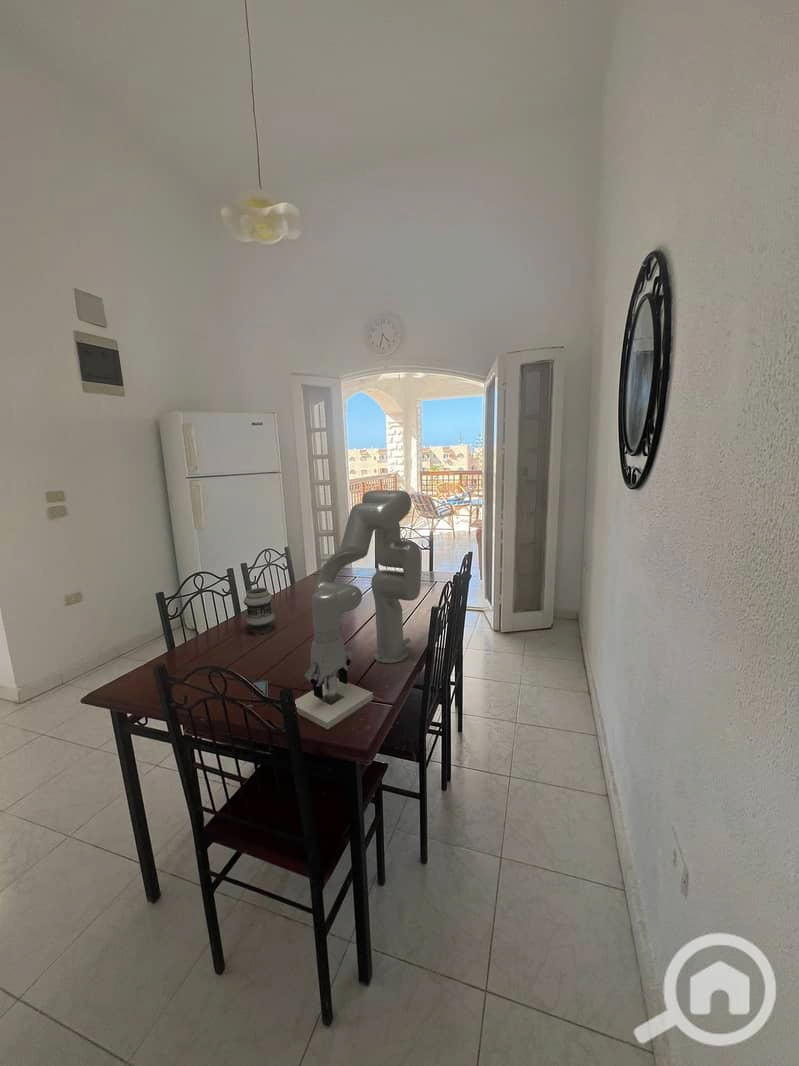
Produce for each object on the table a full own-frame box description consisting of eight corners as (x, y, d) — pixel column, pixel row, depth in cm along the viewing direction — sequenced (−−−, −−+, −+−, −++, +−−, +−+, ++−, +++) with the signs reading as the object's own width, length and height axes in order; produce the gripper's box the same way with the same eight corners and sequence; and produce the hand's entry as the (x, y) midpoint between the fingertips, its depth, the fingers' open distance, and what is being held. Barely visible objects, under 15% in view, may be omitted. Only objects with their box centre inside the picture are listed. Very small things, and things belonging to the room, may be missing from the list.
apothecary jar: (240, 633, 181) (236, 592, 178) (261, 623, 191) (258, 584, 188) (261, 638, 175) (257, 596, 172) (282, 627, 185) (278, 587, 182)
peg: (332, 698, 129) (330, 663, 127) (343, 703, 126) (341, 667, 124) (320, 705, 125) (318, 669, 123) (331, 710, 122) (329, 673, 120)
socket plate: (336, 683, 137) (335, 677, 137) (373, 699, 127) (372, 692, 127) (290, 709, 123) (289, 703, 123) (327, 729, 114) (327, 722, 113)
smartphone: (267, 679, 141) (267, 702, 126) (268, 682, 141) (267, 705, 127) (243, 683, 139) (240, 707, 124) (244, 686, 139) (241, 710, 125)
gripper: (340, 621, 131) (343, 673, 134) (294, 641, 117) (299, 698, 120) (358, 627, 126) (361, 680, 129) (312, 648, 113) (317, 707, 116)
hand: (331, 689), depth 125 cm, fingers open, 9 cm apart
